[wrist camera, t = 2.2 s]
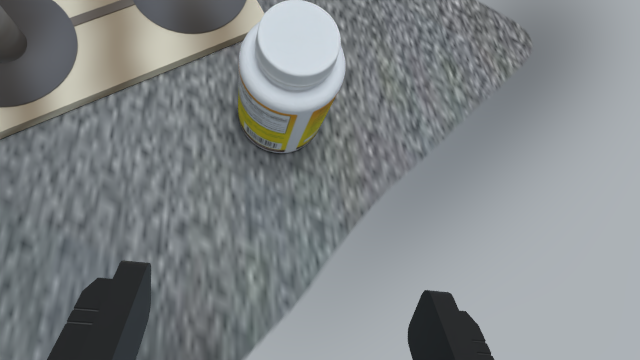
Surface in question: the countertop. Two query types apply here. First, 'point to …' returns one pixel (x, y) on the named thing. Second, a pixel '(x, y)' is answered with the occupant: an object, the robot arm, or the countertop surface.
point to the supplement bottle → (289, 75)
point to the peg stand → (102, 48)
